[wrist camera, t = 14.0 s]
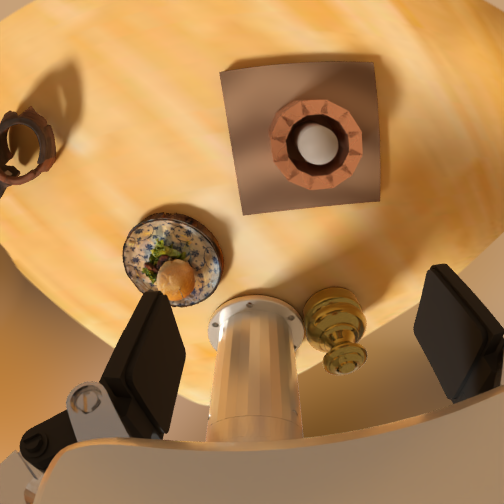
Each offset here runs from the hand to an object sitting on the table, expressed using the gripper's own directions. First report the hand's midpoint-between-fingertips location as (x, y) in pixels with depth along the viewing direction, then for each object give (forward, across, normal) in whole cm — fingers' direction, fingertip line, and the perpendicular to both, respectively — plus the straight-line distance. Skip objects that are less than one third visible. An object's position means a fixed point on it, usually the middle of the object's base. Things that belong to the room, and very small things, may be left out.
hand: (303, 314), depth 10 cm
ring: (+19, -3, -4) cm, 20 cm away
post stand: (+21, -4, -4) cm, 21 cm away
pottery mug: (+21, +28, -9) cm, 36 cm away
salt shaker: (+22, -6, +18) cm, 29 cm away
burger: (+22, +12, +8) cm, 27 cm away
